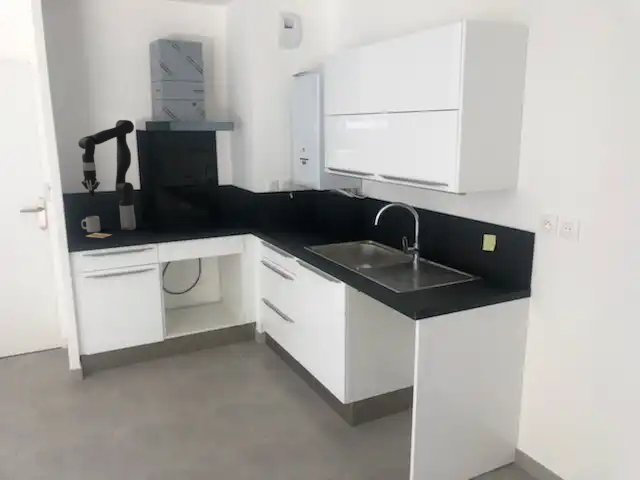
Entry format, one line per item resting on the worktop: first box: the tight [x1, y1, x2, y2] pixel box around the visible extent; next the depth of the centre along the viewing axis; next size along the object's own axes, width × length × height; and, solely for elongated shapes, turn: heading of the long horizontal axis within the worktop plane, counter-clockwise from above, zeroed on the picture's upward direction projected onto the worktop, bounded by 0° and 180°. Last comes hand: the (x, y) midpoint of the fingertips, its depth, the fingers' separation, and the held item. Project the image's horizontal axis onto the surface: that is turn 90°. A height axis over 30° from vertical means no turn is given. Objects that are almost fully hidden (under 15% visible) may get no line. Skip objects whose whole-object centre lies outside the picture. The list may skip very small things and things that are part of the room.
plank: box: [85, 232, 104, 238], centre depth 346 cm, size 10×7×1 cm
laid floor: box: [96, 233, 113, 239], centre depth 345 cm, size 11×14×2 cm
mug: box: [80, 215, 101, 233], centre depth 357 cm, size 12×8×11 cm
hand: (92, 195), depth 343 cm, fingers closed
